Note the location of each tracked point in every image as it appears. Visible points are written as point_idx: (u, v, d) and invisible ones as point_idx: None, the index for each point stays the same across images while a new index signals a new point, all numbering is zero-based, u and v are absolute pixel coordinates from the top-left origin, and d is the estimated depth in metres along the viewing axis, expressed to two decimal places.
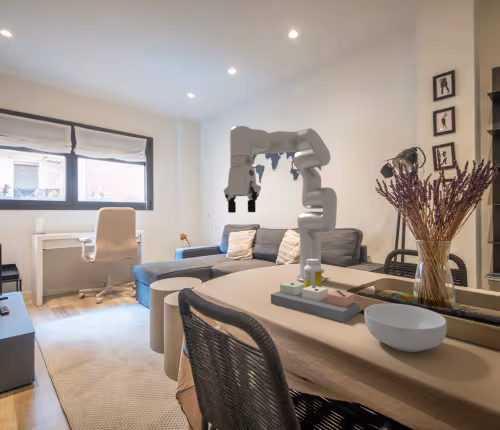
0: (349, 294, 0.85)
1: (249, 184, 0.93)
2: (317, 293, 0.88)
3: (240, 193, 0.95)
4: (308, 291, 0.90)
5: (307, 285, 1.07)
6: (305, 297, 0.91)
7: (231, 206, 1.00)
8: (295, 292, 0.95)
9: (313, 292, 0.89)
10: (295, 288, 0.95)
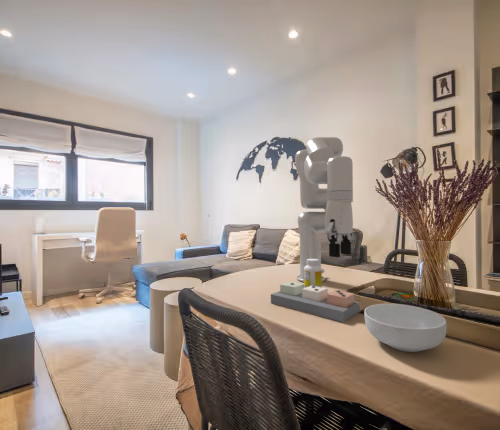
0: (349, 294, 0.85)
1: None
2: (317, 293, 0.88)
3: (348, 232, 0.86)
4: (308, 291, 0.90)
5: (307, 285, 1.07)
6: (305, 297, 0.91)
7: None
8: (295, 292, 0.95)
9: (313, 292, 0.89)
10: (295, 288, 0.95)
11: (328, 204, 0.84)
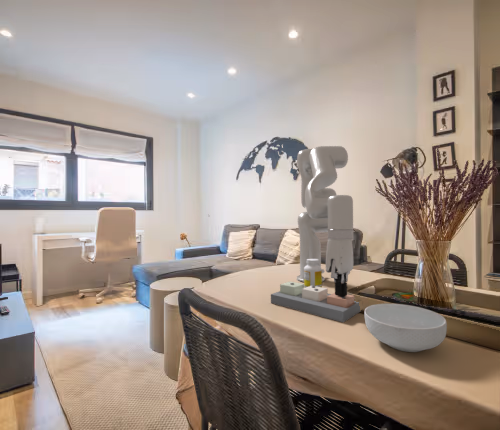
0: (349, 296, 0.85)
1: None
2: (317, 293, 0.88)
3: (349, 270, 0.86)
4: (308, 291, 0.90)
5: (307, 285, 1.07)
6: (305, 297, 0.91)
7: None
8: (295, 292, 0.95)
9: (313, 292, 0.89)
10: (295, 288, 0.95)
11: (329, 243, 0.84)
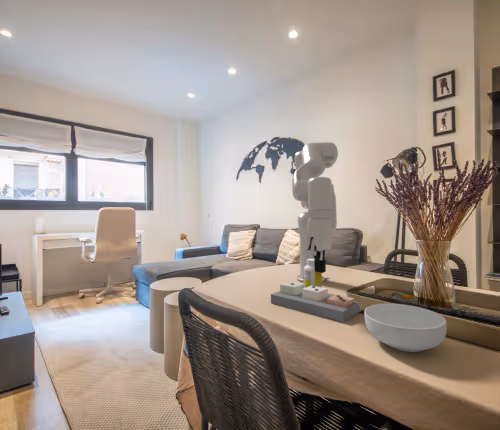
0: (349, 299, 0.85)
1: None
2: (317, 293, 0.88)
3: (327, 248, 0.91)
4: (308, 291, 0.90)
5: (307, 285, 1.07)
6: (305, 297, 0.91)
7: None
8: (295, 292, 0.95)
9: (313, 292, 0.89)
10: (295, 288, 0.95)
11: (308, 222, 0.89)
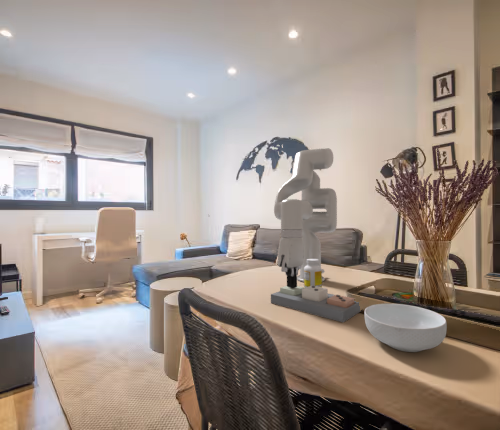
0: (349, 299, 0.85)
1: None
2: (317, 293, 0.88)
3: (299, 265, 0.98)
4: (308, 291, 0.90)
5: (307, 285, 1.07)
6: (305, 297, 0.91)
7: None
8: None
9: (313, 292, 0.89)
10: (295, 291, 0.95)
11: (280, 241, 0.96)
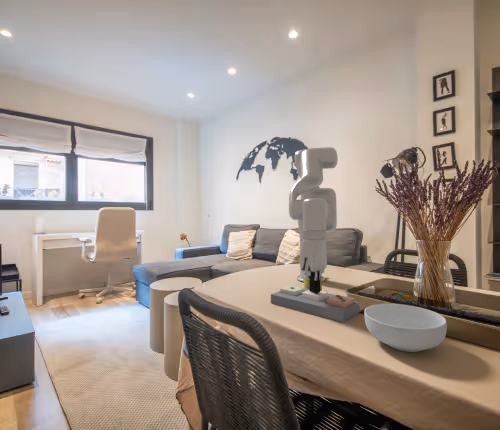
0: (349, 299, 0.85)
1: None
2: (317, 297, 0.88)
3: (322, 268, 0.92)
4: (308, 295, 0.90)
5: (307, 285, 1.07)
6: None
7: None
8: None
9: (313, 296, 0.89)
10: (295, 292, 0.95)
11: (303, 243, 0.90)
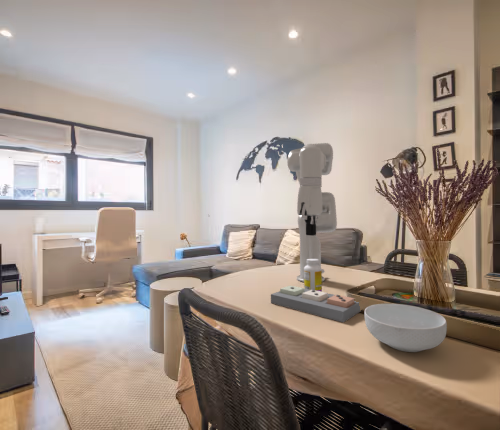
0: (349, 299, 0.85)
1: None
2: (317, 298, 0.88)
3: (318, 213, 0.99)
4: (308, 295, 0.90)
5: (307, 285, 1.07)
6: None
7: None
8: None
9: (313, 297, 0.89)
10: (295, 292, 0.95)
11: (300, 189, 0.96)
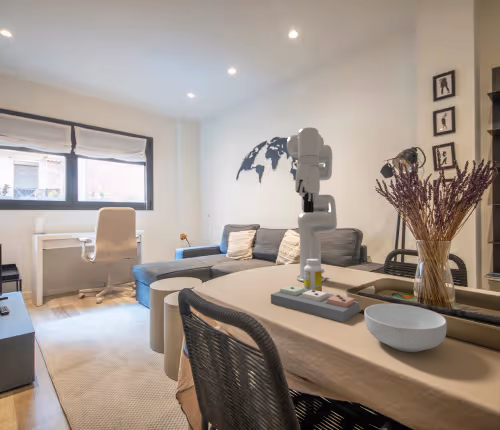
0: (349, 299, 0.85)
1: None
2: (317, 298, 0.88)
3: (315, 191, 1.03)
4: (308, 295, 0.90)
5: (307, 285, 1.07)
6: None
7: None
8: None
9: (313, 297, 0.89)
10: (295, 292, 0.95)
11: (298, 167, 1.01)
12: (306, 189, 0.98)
